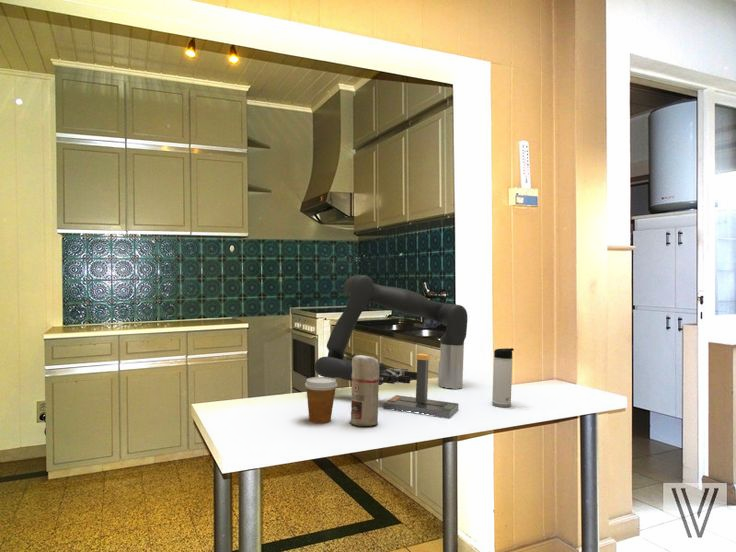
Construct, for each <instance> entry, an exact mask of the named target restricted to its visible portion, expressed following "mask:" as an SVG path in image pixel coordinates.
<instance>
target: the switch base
mask: <svg viewBox="0 0 736 552" xmlns="http://www.w3.org/2000/svg"><path fill="white" fill-rule="evenodd" d="M459 405H460V404H459V403H458V402H457V403H456V402H450V401H443V400H442V401H441V400H435V399H434V400H433V399H429V398H427V402H425V403H420V402H416V397H413V396H405V395H398V394H396V395H394V396H392V397H391V398H389V399H387V400H386V401H383V409H384V410H389V409H394V410H393V411H396V410H403V411H411V412H419V413H424V414H429V415H435V416H434V417H436V416H440V417H439V418H442V417H444V418H443V419H451V417H453V416H454V415H455V413H456V412H457V411H459ZM429 415H428V416H429Z"/></svg>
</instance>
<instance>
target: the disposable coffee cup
mask: <svg viewBox="0 0 736 552" xmlns="http://www.w3.org/2000/svg"><path fill="white" fill-rule="evenodd" d="M304 386H305V389H306V397H307V398H306V399H307V409H308V418H309V419H308V421H309V422H310V423H314V424H326V423H327V424H328V423H330V422H331V420H332V419H331V418H332V413H333V408H334V407H333V406H334V400H335V394H336V388H337V387H338V383H337V380H336V379H335V378H328V377H322V376H314V377H313V376H312V377H309V378H307V379H306V382H305V383H304Z"/></svg>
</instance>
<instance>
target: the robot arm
mask: <svg viewBox="0 0 736 552" xmlns="http://www.w3.org/2000/svg"><path fill="white" fill-rule="evenodd" d="M343 289H344V293H345V294H346V296H347V297H348V298H349V299H348V301H347V304H346V307H345V309H343V312H342V314H341V315H340V316H339V318H338V320H337V321H336V323H335V324H334V327H333V328H332V329H331V332H330V335H329V338H328V340H327V341H326V342H327V343H326V348H327V350H328V354H327V356H321V357H319V358H318V359H316V360H315V363H314V370H315V372H316V374H317V375H319V377H328V378H333V379H335V378H338V379H341V380H345V381H350V382H352V360H351V359H350V360H347V359H344V358H345V357H344V356H345V352H346V349H347V348H348V347H347V346H348V344H349V342H350V339H351V336H352V334H353V331H354V329H355V327H356V324H357V322H358V320H359V318H360V316H361V314H362V312H363V310H364V309H365V307H366V306H367V304H368V303H372V304H376V305H378V306H382V307H384V308H387V309H389V310H391V311H394V312H397V313H401V314H404V315H407V316H408V315H409V316H413V317H419V318H424V319H425V318H426V319H429V320H431V321H433V322H436V323H439V324H442V326H445V327H446V330H445V333H444V334H443V335H442V336H441V337H440V352H439V355H440V356H439V362H438V373H437V375H438V376H437V377H438V378H437V385H438V384H439V385H440V386H442V387H445V388H444V389H447V388H452V389H451V390H459V388H460V389H462V388H463V379H464V349H465V347H464V346H465V340H466V337H467V331H468V320H469V319H468V311H467V309H466V308H465V306H463V305H461V304H454V303H445V302H440V301H434V300H431V299H429V298H427V297H426V296H423V295H422V294H420V293H418V292H415V291H412V290H409V289H405V288H401V287H395V286H387V285H380V284H377V283H374V281H373V279H372V278H371V277H370V276H368V275H366V274H365V275H364V274H359V275H353V276H351V277H349V278H348V279H346V281H345V282H344V285H343ZM378 363H379V386H381V385H382V384H384V383H385V384H390V385H395V384H399V383H401V384H408V385H409V384H410V383H411V379H413V380H417V371H409V369H407V368H396V367H393V368H388V369H386V366H385V364H384V362H378ZM403 373H404V374H403ZM439 385H438V386H439ZM440 386H439V387H440ZM442 387H441V388H442Z"/></svg>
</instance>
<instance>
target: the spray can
mask: <svg viewBox="0 0 736 552" xmlns="http://www.w3.org/2000/svg"><path fill="white" fill-rule="evenodd" d="M379 363H380V362H379V361H378V359H376V358H375V357H373V356H368V355H365V354H364V355H363V354H357V355H354V356H353V357H352V381H351V404H350V407H351V410H350V421H349V423H350V424H351V425H355V426H359V427H370V426H371V427H372V426H374V425H375V426H376V425H378V424H379V422H378V418H379V386H380V385H379Z"/></svg>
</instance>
